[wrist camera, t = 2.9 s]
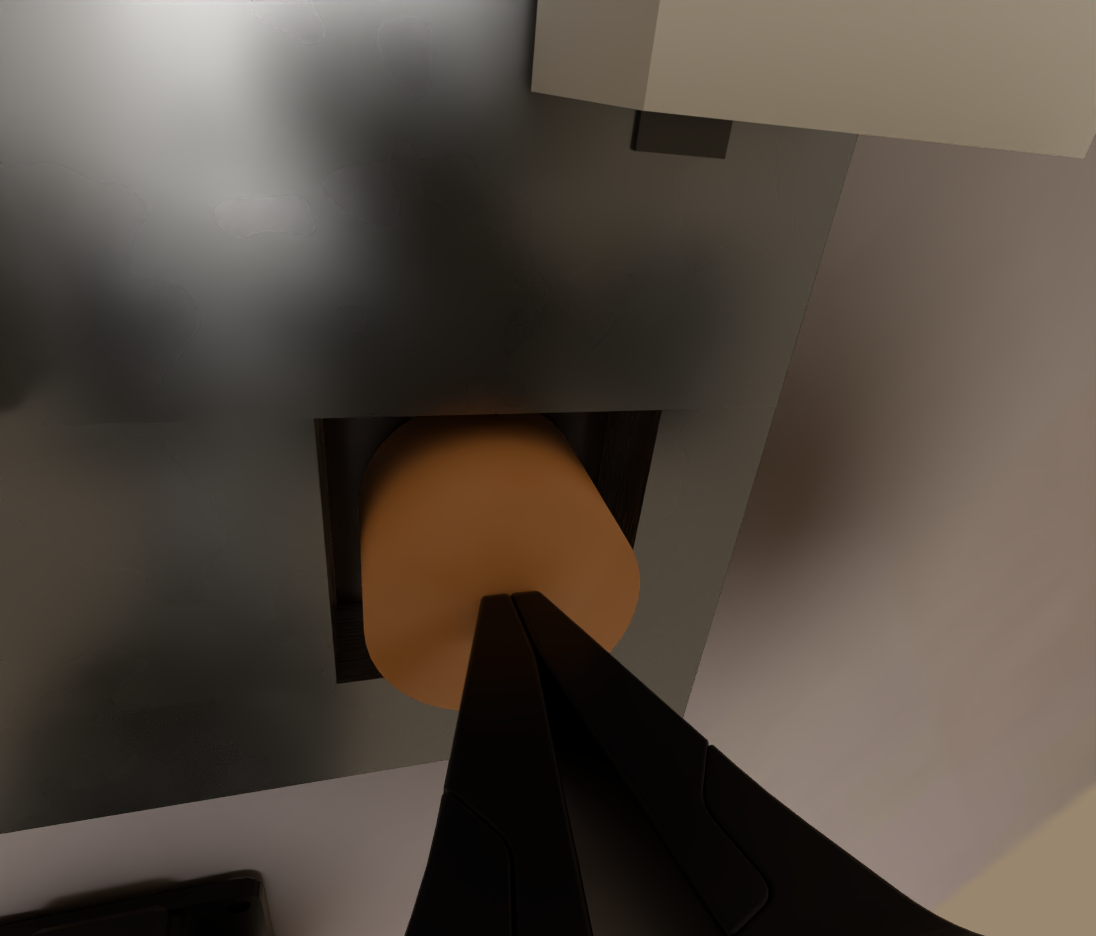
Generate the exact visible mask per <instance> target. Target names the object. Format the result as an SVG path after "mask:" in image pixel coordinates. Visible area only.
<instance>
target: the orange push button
mask: <svg viewBox="0 0 1096 936" xmlns="http://www.w3.org/2000/svg"><path fill="white" fill-rule="evenodd" d="M359 522H360V547H361V572H362V597H363V621H364V635H365V642H366V646H367V649H368V652H369V655H370V657H371V659H372V661H373V663H374V664H375V666H376V668H377V670H378V671H379V672H380V673H381V674H382V676H383V677H384V678H385V679H386V680H387V681H388V682H389V683H390V684H392V685H393V686H394V687H395V688H396V689H398V690H399V691H401V692H402V693H404V694H406V695H407V696H409V697H411V698H413V699H416V700H418V701H420V702H422V703H425V704H429V705H432V706H435V707H439V708H445V709H450V710H459V708H460V703H461V698H462V693H463V687H464V682H465V677H466V672H467V667H468V662H469V657H470V652H471V647H472V641H473V636H474V631H475V626H476V621H477V616H478V611H479V606H480V601H481V598H482V597H483V596H486V595H495V594H508V595H510V596H511V595H512V594H513V593H515V592H525V591H539V592H541V593H542V594H543V595H545V596H546V597H547V598H548V599H549V600H550V601H551V602H552V603H554V604H555V605H556V606H557V607H558V608H559V609H560V610H561V611H563V612H564V613H565V614H566V615H567V616H568V617H569V618H570V619H572V620H573V621H574V622H575V623H576V624H577V625H578V626H579V627H581V628H582V629H583V630H584V631H585V632H586V633H587V634H588V635H590V636H591V637H592V638H593V639H594V640H595V641H596V642H597V643H599V644H600V645H601V646H602V647H603V648H604V649H605V650H607V651H608V652H609V653H610V652H611V651H612V649H613V648H614V647H615V645H616V644H617V643H618V642H619V640H620V639H621V638H622V636H623V634H624V633H625V631H626V629H627V628H628V626H629V624H630V622H631V619H632V617H633V615H634V612H635V609H636V606H637V602H638V597H639V590H640V573H639V568H638V563H637V559H636V557H635V554H634V552H633V549H632V547H631V546H630V544H629V542H628V541H627V539H626V537H625V536H624V534H623V532H622V531H621V529H620V527H619V526H618V524H617V522H616V521H615V519H614V517H613V515H612V514H611V512H610V510H609V509H608V507H607V505H606V504H605V502H604V500H603V499H602V497H601V495H600V494H599V492H598V490H597V489H596V487H595V485H594V484H593V482H592V480H591V478H590V477H589V475H588V473H587V472H586V470H585V468H584V467H583V465H582V463H581V462H580V460H579V458H578V457H577V455H576V453H575V452H574V450H573V448H572V447H571V445H570V443H569V442H568V440H567V438H566V437H565V436H564V434H563V433H562V432H561V431H560V430H559V429H558V427H556V426H555V425H554V424H553V423H552V422H551V421H550V420H548V419H547V418H545V417H544V416H542V415H541V414H539V413H517V414H477V415H437V416H415V417H413V418H412V419H410V420H408V421H407V422H405V423H404V424H403V425H401V426H400V427H399V428H398V429H396V430H395V431H394V432H393V433H392V434H391V435H390V436H389V437H388V438H387V439H386V440H385V441H384V442H383V443H382V444H381V445H380V447H379V448H378V449H377V451H376V452H375V454H374V455H373V457H372V458H371V460H370V462H369V464H368V466H367V468H366V470H365V473H364V476H363V479H362V482H361V487H360V493H359Z"/></svg>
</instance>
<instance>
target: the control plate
mask: <svg viewBox="0 0 1096 936" xmlns="http://www.w3.org/2000/svg"><path fill="white" fill-rule="evenodd" d="M537 5H538V0H0V834H3V833H9V832H15V831H21V830H27V829H33V828H39V827H45V826H51V825H57V824H63V823H69V822H75V821H81V820H87V819H93V818H99V817H105V816H111V815H117V814H123V813H129V812H135V811H141V810H147V809H153V808H159V807H165V806H171V805H177V804H183V803H189V802H195V801H201V800H207V799H213V798H220V797H226V796H232V795H238V794H244V793H250V792H256V791H262V790H268V789H274V788H280V787H286V786H292V785H298V784H304V783H310V782H316V781H322V780H328V779H334V778H340V777H346V776H352V775H358V774H364V773H370V772H376V771H382V770H388V769H394V768H400V767H406V766H412V765H418V764H424V763H430V762H436V761H442V760H448V759H450V754H451V749H452V744H453V738H454V733H455V728H456V723H457V718H458V713H459V710H450V709H445V708H439V707H435V706H432V705H429V704H425V703H422V702H420V701H418V700H416V699H413V698H411V697H409V696H407V695H406V694H404V693H402V692H401V691H399V690H398V689H396V688H395V687H394V686H393V685H392V684H390V683H389V682H388V681H387V680H386V679H385V678H384V677H383V676H382V674H381V673H380V672H379V671H378V670H377V668H376V666H375V664H374V663H373V661H372V659H371V657H370V655H369V652H368V649H367V646H366V642H365V635H364V621H363V601H362V602H352V603H342V604H337V595H336V583H335V570H334V557H333V544H332V532H331V519H330V506H329V494H328V481H327V468H326V455H325V443H324V430H323V418H356V417H396V416H437V415H477V414H517V413H557V412H597V411H609V413H608V419H607V425H606V431H605V438H604V444H603V450H602V456H601V462H600V469H599V475H598V481H597V487H596V489H597V490H598V492H599V494H600V495H601V497H602V499H603V500H604V502H605V504H606V505H607V507H608V509H609V510H610V512H611V514H612V515H613V517H614V519H615V521H616V522H617V524H618V526H619V527H620V529H621V531H622V532H623V534H624V536H625V537H626V539H627V541H628V542H629V544H630V546H631V547H632V549H633V552H634V554H635V557H636V559H637V563H638V568H639V573H640V590H639V597H638V602H637V606H636V609H635V612H634V615H633V617H632V619H631V622H630V624H629V626H628V628H627V629H626V631H625V633H624V634H623V636H622V638H621V639H620V640H619V642H618V643H617V644H616V645H615V647H614V648H613V649H612V651H611V652H610V654H611V655H612V656H613V657H614V658H616V659H617V660H618V661H619V662H620V663H621V664H622V665H623V666H625V667H626V668H627V669H628V670H629V671H630V672H631V673H632V674H634V675H635V676H636V677H637V678H638V679H639V680H640V681H641V682H643V683H644V684H645V685H646V686H647V687H648V688H649V689H650V690H652V691H653V692H654V693H655V694H656V695H657V696H658V697H659V698H661V699H662V700H663V701H664V702H665V703H666V704H667V705H668V706H670V707H671V708H672V709H673V710H674V711H675V712H676V713H677V714H679V715H680V716H681V717H682V718H683V716H684V713H685V709H686V706H687V703H688V699H689V696H690V693H691V689H692V686H693V683H694V680H695V676H696V673H697V670H698V666H699V663H700V660H701V656H702V653H703V650H704V646H705V643H706V640H707V636H708V633H709V630H710V626H711V623H712V620H713V616H714V613H715V610H716V606H717V603H718V600H719V596H720V593H721V590H722V586H723V583H724V580H725V576H726V573H727V570H728V566H729V563H730V560H731V556H732V553H733V550H734V546H735V543H736V540H737V536H738V533H739V530H740V526H741V523H742V520H743V516H744V513H745V510H746V506H747V503H748V500H749V496H750V493H751V490H752V486H753V483H754V480H755V476H756V473H757V470H758V466H759V463H760V460H761V456H762V453H763V450H764V446H765V443H766V440H767V436H768V433H769V430H770V427H771V423H772V420H773V417H774V413H775V410H776V407H777V403H778V400H779V397H780V393H781V390H782V387H783V383H784V380H785V377H786V373H787V370H788V367H789V363H790V360H791V357H792V353H793V350H794V347H795V343H796V340H797V337H798V333H799V330H800V327H801V323H802V320H803V317H804V313H805V310H806V307H807V303H808V300H809V297H810V293H811V290H812V287H813V283H814V280H815V277H816V273H817V270H818V267H819V263H820V260H821V257H822V253H823V250H824V247H825V243H826V240H827V237H828V233H829V230H830V227H831V223H832V220H833V217H834V213H835V210H836V207H837V203H838V200H839V197H840V193H841V190H842V187H843V183H844V180H845V177H846V174H847V170H848V167H849V164H850V160H851V157H852V154H853V150H854V147H855V144H856V140H857V137H858V134H854V133H845V132H835V131H826V130H817V129H808V128H798V127H789V126H780V125H771V124H762V123H752V122H743V121H734V120H725V119H715V118H706V117H697V116H688V115H679V114H669V113H660V112H651V111H642V110H636V109H631V108H625V107H619V106H613V105H607V104H601V103H596V102H590V101H584V100H578V99H572V98H566V97H561V96H555V95H549V94H543V93H537V92H531V84H532V71H533V58H534V45H535V31H536V18H537Z"/></svg>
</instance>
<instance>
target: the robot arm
mask: <svg viewBox="0 0 1096 936" xmlns="http://www.w3.org/2000/svg"><path fill="white" fill-rule="evenodd" d="M708 745H709V743H708V740H707V739H706V738H704V737H703V736H702V735H701V734H700V733H699V732H698V731H697V730H695V729H694V728H693V727H692V726H691V725H690V724H689V723H688V722H686V721H685V720H684V719H683V718H682V717H681V716H680V715H679V714H677V713H676V712H675V711H674V710H673V709H672V708H671V707H670V706H668V705H667V704H666V703H665V702H664V701H663V700H662V699H661V698H659V697H658V696H657V695H656V694H655V693H654V692H653V691H652V690H650V689H649V688H648V687H647V686H646V685H645V684H644V683H643V682H641V681H640V680H639V679H638V678H637V677H636V676H635V675H634V674H632V673H631V672H630V671H629V670H628V669H627V668H626V667H625V666H623V665H622V664H621V663H620V662H619V661H618V660H617V659H616V658H614V657H613V656H612V655H611V654H610V653H609V652H608V651H607V650H605V649H604V648H603V647H602V646H601V645H600V644H599V643H597V642H596V641H595V640H594V639H593V638H592V637H591V636H590V635H588V634H587V633H586V632H585V631H584V630H583V629H582V628H581V627H579V626H578V625H577V624H576V623H575V622H574V621H573V620H572V619H570V618H569V617H568V616H567V615H566V614H565V613H564V612H563V611H561V610H560V609H559V608H558V607H557V606H556V605H555V604H554V603H552V602H551V601H550V600H549V599H548V598H547V597H546V596H545V595H543V594H542V593H541V592H539V591H525V592H515V593H513V594H512V595H511V596H510V595H508V594H495V595H486V596H483V597H482V598H481V601H480V606H479V611H478V616H477V621H476V626H475V631H474V636H473V641H472V647H471V652H470V657H469V662H468V667H467V672H466V677H465V682H464V687H463V693H462V698H461V703H460V708H459V713H458V718H457V723H456V728H455V733H454V738H453V744H452V749H451V754H450V759H449V764H448V769H447V774H446V779H445V784H444V792H443V795H442V798H441V803H440V808H439V813H438V818H437V824H436V828H435V832H434V836H433V841H432V845H431V849H430V853H429V858H428V862H427V866H426V869H425V873H424V876H423V879H422V882H421V886H420V889H419V892H418V895H417V899H416V902H415V905H414V908H413V912H412V915H411V918H410V921H409V924H408V927H407V930H406V932H405V935H404V936H984V935H981V934H978V933H975V932H972V931H969V930H967V929H965V928H962V927H959V926H957V925H955V924H953V923H951V922H949V921H947V920H945V919H943V918H941V917H939V916H938V915H936V914H934V913H932V912H931V911H929V910H927V909H926V908H924V907H922V906H921V905H919V904H918V903H916V902H915V901H913V900H912V899H910V898H909V897H907V896H906V895H905V894H903V893H902V892H900V891H899V890H898V889H896V888H895V887H893V886H892V885H891V884H889V883H888V882H887V881H885V880H884V879H883V878H881V877H880V876H879V875H877V874H876V873H875V872H873V871H872V870H871V869H869V868H868V867H866V866H865V865H864V864H862V863H861V862H860V861H858V860H857V859H856V858H854V857H853V856H852V855H850V854H849V853H848V852H846V851H845V850H844V849H842V848H841V847H839V846H838V845H837V844H835V843H834V842H833V841H831V840H830V839H829V838H827V837H826V836H825V835H823V834H822V833H821V832H819V831H818V830H817V829H815V828H814V827H812V826H811V825H810V824H808V823H807V822H806V821H805V820H803V819H802V818H801V817H799V816H798V815H797V814H795V813H794V812H793V811H792V810H790V809H789V808H788V807H786V806H785V805H784V804H783V803H781V802H780V801H779V800H777V799H776V798H775V797H773V796H772V795H771V794H770V793H768V792H767V791H766V790H765V789H764V788H762V787H761V786H760V785H759V784H758V783H756V782H755V781H754V780H753V779H752V778H751V777H749V776H748V775H747V774H746V773H745V772H743V771H742V770H741V769H740V768H739V767H738V766H736V765H735V764H734V763H733V762H732V761H731V760H730V759H728V758H727V757H726V756H725V755H724V754H723V753H722V752H721V751H719V750H718V749H717V748H716V747H715V746H714V745H710V746H709V747H708ZM0 936H274V934H273V930H272V925H271V920H270V915H269V911H268V906H267V901H266V897H265V892H264V887H263V885H262V883H261V882H260V881H258V880H256V879H250V878H243V879H236V880H231V881H226V882H220V883H215V884H210V885H205V886H200V887H195V888H190V889H185V890H180V891H175V892H170V893H165V894H160V895H155V896H150V897H145V898H140V899H135V900H130V901H125V902H119V903H114V904H109V905H104V906H99V907H94V908H89V909H84V910H79V911H74V912H69V913H64V914H59V915H54V916H49V917H44V918H39V919H34V920H29V921H23V922H18V923H13V924H8V925H3V926H0Z"/></svg>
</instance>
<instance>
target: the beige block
mask: <svg viewBox="0 0 1096 936" xmlns="http://www.w3.org/2000/svg"><path fill="white" fill-rule="evenodd" d="M531 92H537V93H543V94H549V95H555V96H561V97H566V98H572V99H578V100H584V101H590V102H596V103H601V104H607V105H613V106H619V107H625V108H631V109H636V110H642V111H651V112H660V113H669V114H679V115H688V116H697V117H706V118H715V119H725V120H734V121H743V122H752V123H762V124H771V125H780V126H789V127H798V128H808V129H817V130H826V131H835V132H845V133H854V134H863V135H872V136H881V137H891V138H900V139H909V140H918V141H928V142H937V143H946V144H955V145H964V146H974V147H983V148H992V149H1001V150H1010V151H1020V152H1029V153H1038V154H1047V155H1057V156H1066V157H1075V158H1085V155H1086V153H1087V151H1088V149H1089V147H1090V145H1091V142H1092V140H1093V138H1094V136H1095V134H1096V0H538V5H537V18H536V31H535V45H534V58H533V71H532V84H531Z"/></svg>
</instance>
